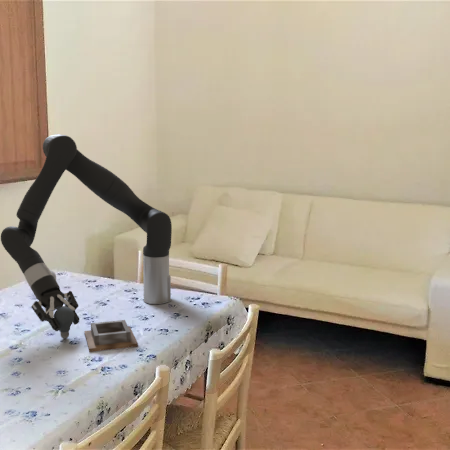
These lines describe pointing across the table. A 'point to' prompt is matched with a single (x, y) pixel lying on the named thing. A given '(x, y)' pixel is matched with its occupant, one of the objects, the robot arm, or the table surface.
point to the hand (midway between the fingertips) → (67, 326)
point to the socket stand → (110, 336)
